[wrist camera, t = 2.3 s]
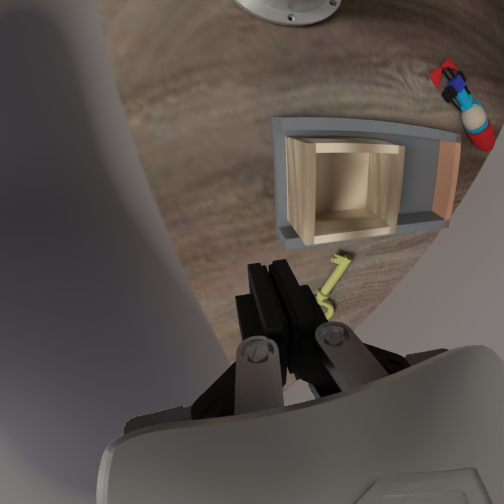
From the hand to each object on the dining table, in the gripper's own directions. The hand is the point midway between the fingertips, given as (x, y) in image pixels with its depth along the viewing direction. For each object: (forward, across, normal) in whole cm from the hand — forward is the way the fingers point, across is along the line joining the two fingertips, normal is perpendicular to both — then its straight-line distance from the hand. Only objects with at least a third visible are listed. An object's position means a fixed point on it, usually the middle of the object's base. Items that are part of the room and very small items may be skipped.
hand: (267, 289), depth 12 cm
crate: (+17, -11, 0) cm, 20 cm away
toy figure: (+18, -34, -11) cm, 40 cm away
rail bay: (+18, -17, 0) cm, 24 cm away
